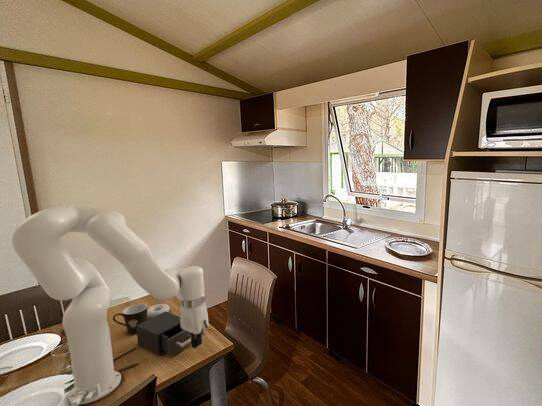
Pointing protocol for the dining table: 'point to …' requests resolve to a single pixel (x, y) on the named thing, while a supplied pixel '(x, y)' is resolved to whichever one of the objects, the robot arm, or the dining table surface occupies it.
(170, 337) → the drawer
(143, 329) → the gray drawer box
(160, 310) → the donut
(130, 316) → the coffee mug
